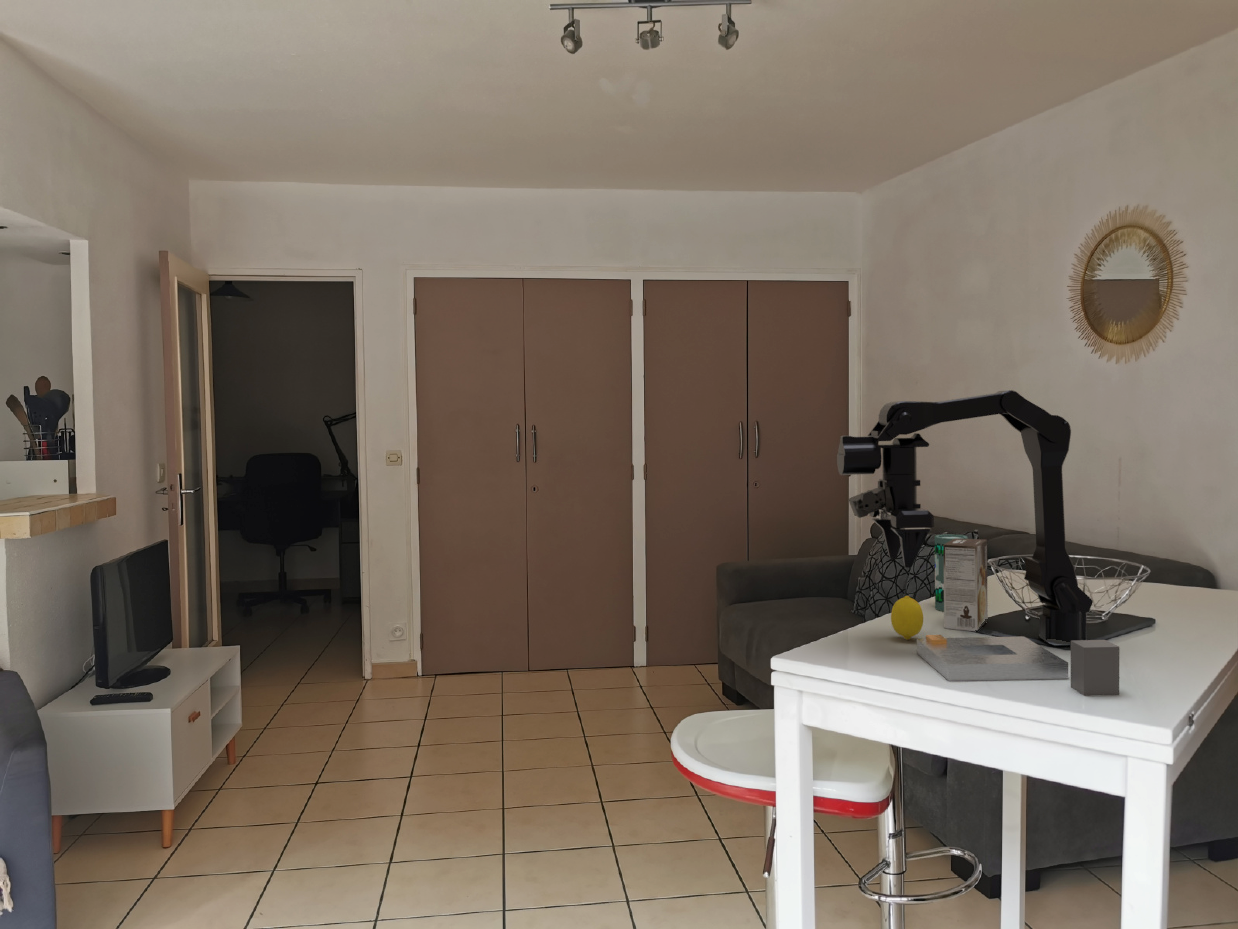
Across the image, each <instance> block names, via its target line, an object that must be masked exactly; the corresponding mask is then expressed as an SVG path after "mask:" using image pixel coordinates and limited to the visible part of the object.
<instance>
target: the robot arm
mask: <svg viewBox="0 0 1238 929" xmlns="http://www.w3.org/2000/svg"><path fill="white" fill-rule="evenodd" d="M994 415H995V416H996V415H1000V416H1001V417H1002V418H1004V420H1005V421H1006V422H1007V423H1008V424H1009V425H1010V426H1011V427H1013V429H1015V430H1016V431H1018V432H1019V433H1020V435H1021V440H1022V444H1023V448H1024V452H1025V454H1026V456H1027V458H1028V460H1029V462H1030V464H1031V468H1032V482H1033V483H1032V484H1033V485H1032V486H1033V502H1034V503H1033V504H1034V505H1033V507H1034V522H1035V523H1034V524H1035V526H1034V527H1035V528H1034V529H1035V541H1036V542H1035V543H1036V544H1035V550H1034V552H1033V555H1032V556H1031V557H1028V556H1024V558H1023V562H1024V567H1025V575H1024V577H1023V578H1024V579H1023V580H1026V581H1027V582H1028V586H1029V588H1030V589H1031V591H1033V592H1034V593H1035V594H1037V596H1038V599H1039V602H1040V603H1041V604H1044V605H1042V606H1041V610H1042V611H1041V613H1042V614H1040V615H1039V633H1038V635H1039V636H1041V637H1043V638H1045V639H1046V640H1047V639H1056V640H1062V641H1066V642H1071V641H1072V640H1087V613H1089V612H1091V608H1092V605H1093V598H1091V597H1090V596H1089V595H1087V594H1086V592H1085V591H1083V590H1082V588H1080V587H1079V582H1078V578H1077V573H1076V570H1075V569H1076V568H1075V566H1074V564H1073V561H1072V559H1071V557H1070V555H1069V552H1068V550H1067V546H1066V544H1067V543H1066V527H1065V526H1066V525H1065V524H1066V523H1065V507H1064V506H1065V505H1064V501H1065V500H1064V482H1063V465H1064V463H1065V461H1066V458H1067V455H1068V453H1069V451H1070V442H1071V436H1072V429H1071V425H1070V423H1069V421H1067V420H1066V419H1065V418H1064V417H1062V416H1060V415H1056V414H1055V415H1053V414H1051V413H1049V412H1048V411H1047V410H1045V409H1044V408H1042V407H1040V406H1038V405H1037V404H1034V403H1033V402H1031V401H1030V400H1028V399H1026V398H1025V397H1024V396H1022V395H1021V394H1019V392H1017V391H1016V390H1013V389H1012V390H1010V389H1009V390H999V391H997V392H994V393H986V394H981V395H973V396H967V397H959V398H953V399H946V400H939V401H918V400H917V401H909V400H908V401H907V400H902V401H899V400H898V401H890V402H888V403H885V404H884V405H883V406H882V408H881V409H880V411H879V414H878V421H877V422H876V423H875V425H874V427H873V428H872V429H871V430H870V431H869V433H868V434H867V436H851V435H841V436H839V440H840V441H839V445H838V450H837V453H836V464H837V471H838V473H839V476H848V475H849V476H853V475H857V476H858V475H859V476H860V475H874V474H875V473H876V470H879V469H880V468H882V469H881V471H882V472H881V473H882V475H881V476H882V478H879V480H878V481H877V487H876V488H873V489H868V490H867V491H864V492H861V493H859V494H857V495H854V496H851V497H849V498H848V502H849V505H850V507H851V509H852V512H853V515H854V516H855V517H857V518H864V517H867V516H868V515H869V517H872V518H871V520H872V521H873V522H874V523H875V524H876V525H877V526H878V527H879V528H880V529H881V532H882V534H883V538H884V542H885V546H886V550H887V553H888V557H889V559H890V560H896V559H897V557H898V554H899V551H900V550H901V556H902V561H903V567H904V568H909V569H910V568H912V567H913V565H914V563H915V561H916V558H917V557H918V555H919V553H920V552H919V551H920V550H921V548H922V546H923V544H924V542H925V541H926V539H927V536H928V535H929V533H930V532H931V531H932V528H934V527H935V516H934V514H932V513H931V512H930V511H929V510H928V509H925V508H922V507H921V503H919V502H918V494H917V493H918V487H921V479H918V474H917V472H918V471H917V470H918V469H917V468H918V467H917V466H918V464H917V463H918V462H917V457H918V456H917V448H928V447H929V446H930V443H929V442H928V441H927V440H925V439H924V438H923V437H922V435H921V434H920V433H919V432H918V431H922V430H925V429H928V428H930V427H932V426H935V425H938V424H941V423H946V422H947V423H948V422H953V421H954V422H955V421H960V420H968V419H974V418H981V417H987V416H994ZM916 432H918V433H916ZM910 434H913V435H912V436H910V437H899V436H900V435H901V436H902V435H904V436H905V435H910ZM891 441H892V443H887V444H886V443H885V444H884V443H882V444H881V443H880V442H891ZM879 443H880V444H879ZM881 466H882V467H881Z"/></svg>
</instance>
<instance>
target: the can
mask: <svg viewBox="0 0 1238 929" xmlns="http://www.w3.org/2000/svg"><path fill="white" fill-rule="evenodd" d="M954 538H958V539H969V536H967V535H963V534H962V535H961V534H937V535H934V608H935V610H936V611H939V612H943V613H944V553H943V545H944V544H946V543H947V542H949V541H951V540H952V539H954Z"/></svg>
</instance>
